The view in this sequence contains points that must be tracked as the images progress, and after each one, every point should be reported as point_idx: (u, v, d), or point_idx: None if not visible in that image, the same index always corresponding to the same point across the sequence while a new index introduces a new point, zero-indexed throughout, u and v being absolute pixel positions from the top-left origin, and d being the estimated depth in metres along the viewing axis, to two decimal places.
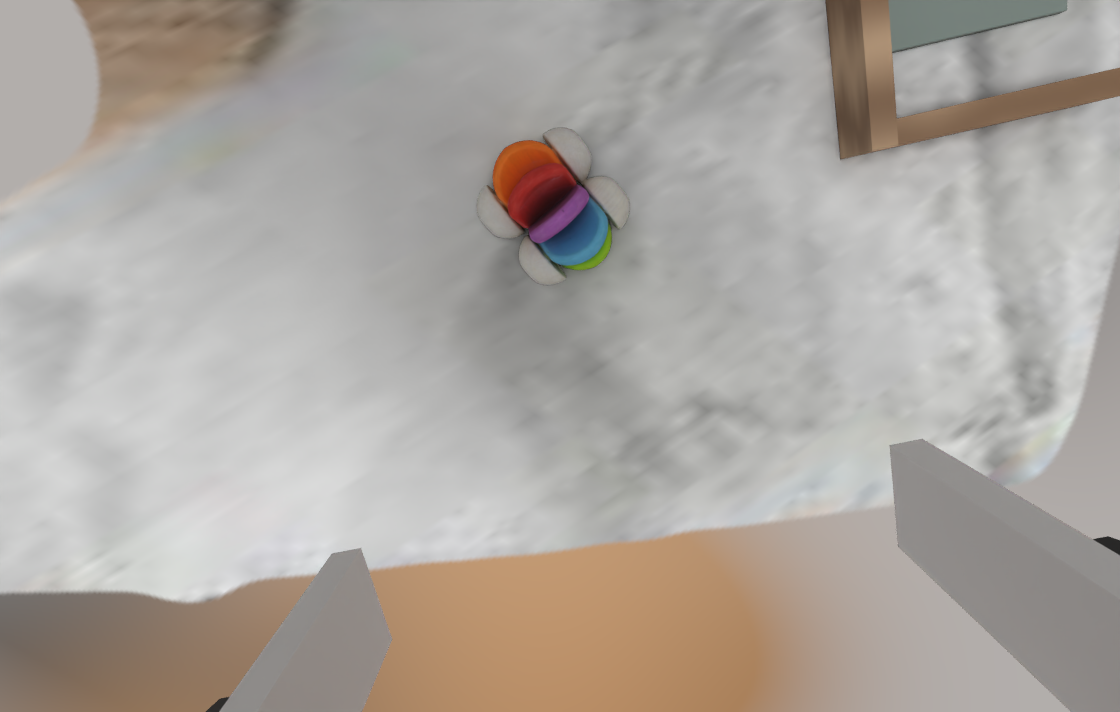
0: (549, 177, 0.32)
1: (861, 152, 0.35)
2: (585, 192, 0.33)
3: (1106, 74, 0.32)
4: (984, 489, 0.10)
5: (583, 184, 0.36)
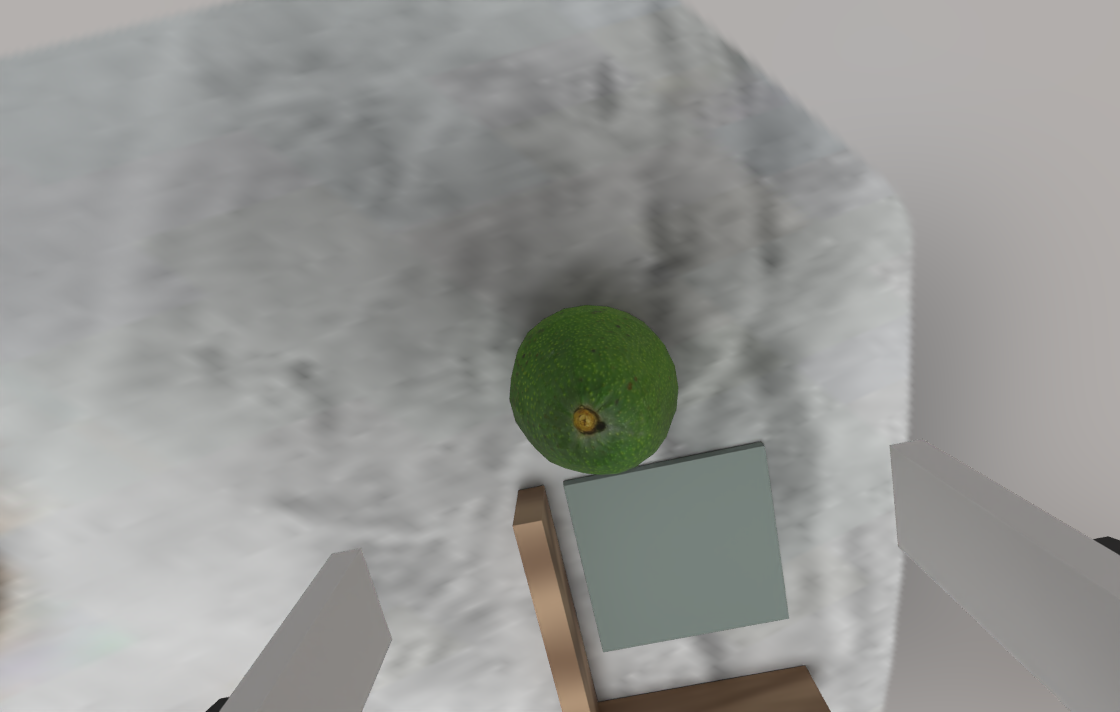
0: None
1: None
2: None
3: None
4: (984, 489, 0.10)
5: None
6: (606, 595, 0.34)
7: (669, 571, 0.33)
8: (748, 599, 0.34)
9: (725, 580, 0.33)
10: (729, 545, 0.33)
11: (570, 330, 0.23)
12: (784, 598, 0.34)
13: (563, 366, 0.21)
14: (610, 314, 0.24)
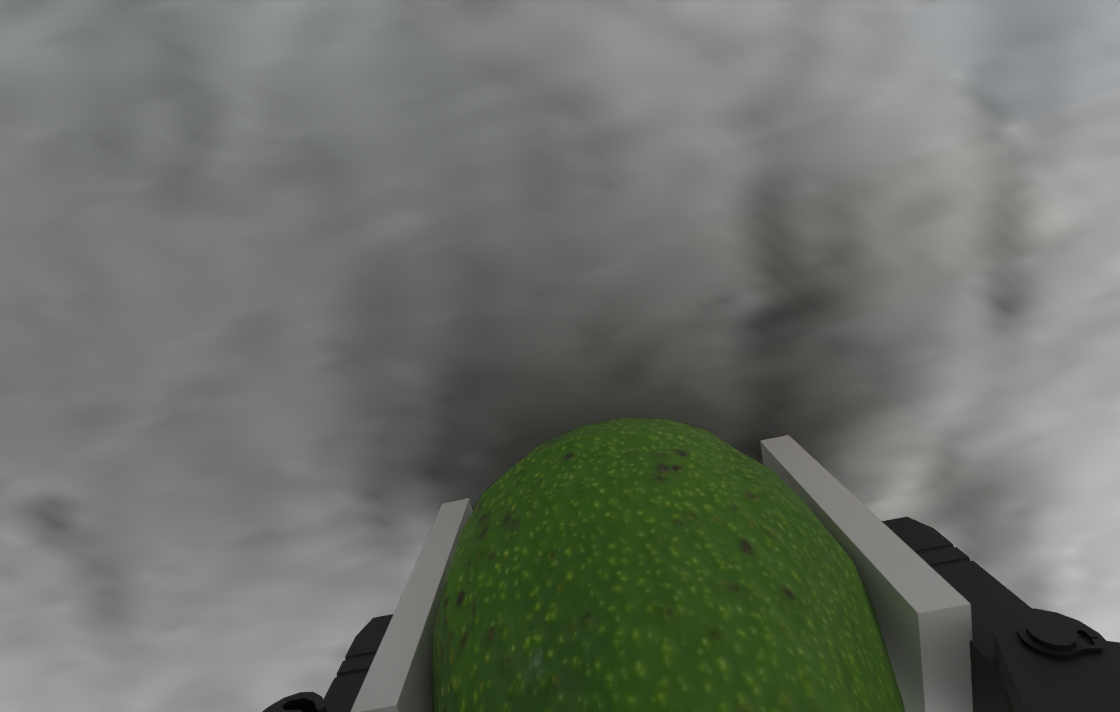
0: None
1: None
2: None
3: None
4: (816, 477, 0.12)
5: None
6: None
7: None
8: None
9: None
10: None
11: (594, 564, 0.07)
12: None
13: None
14: (707, 482, 0.08)
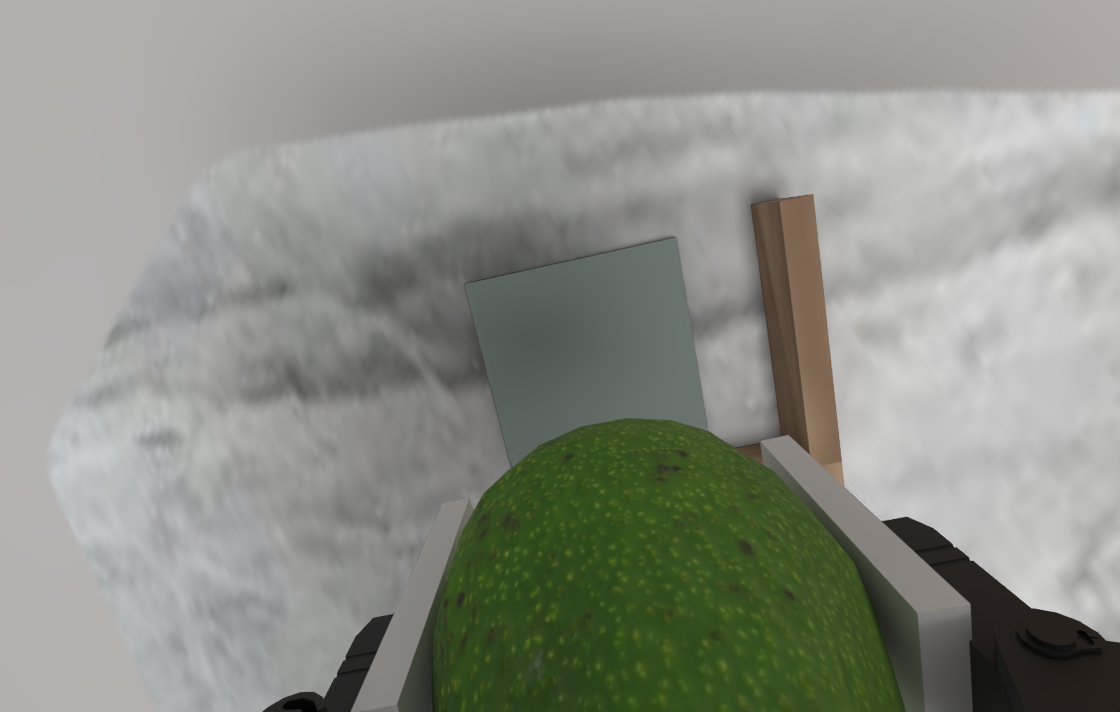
0: None
1: None
2: None
3: (787, 232, 0.26)
4: (816, 477, 0.12)
5: None
6: None
7: (610, 373, 0.31)
8: (648, 286, 0.30)
9: (623, 313, 0.30)
10: (580, 312, 0.30)
11: (594, 564, 0.07)
12: (649, 245, 0.29)
13: None
14: (707, 483, 0.08)
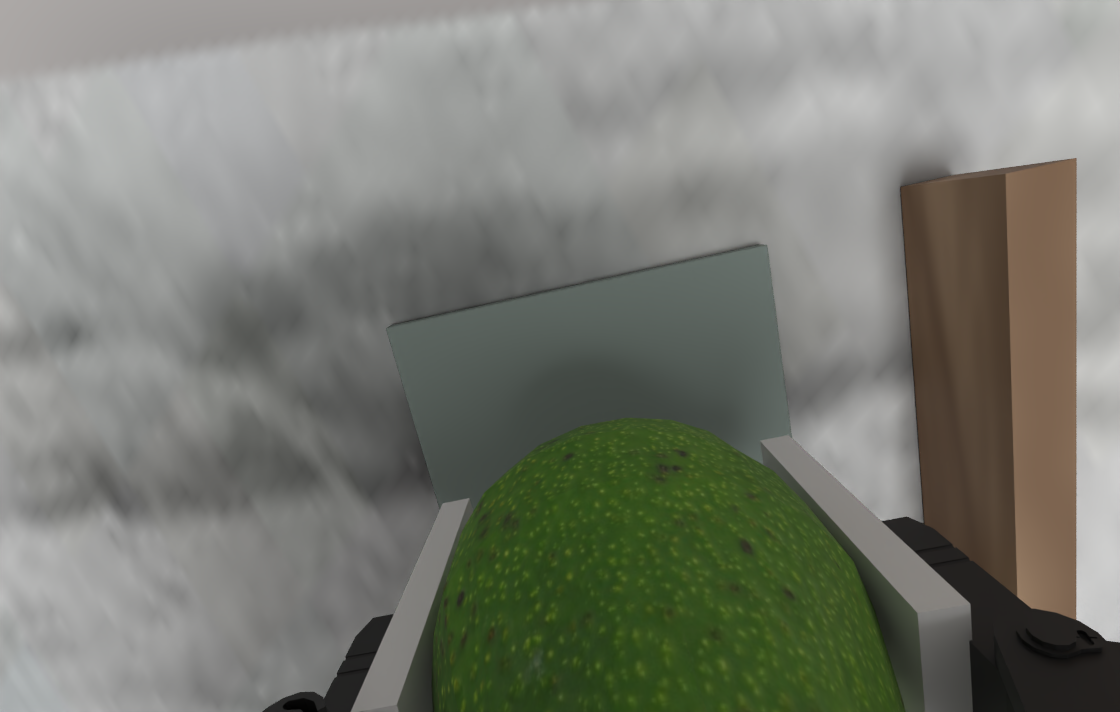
0: None
1: None
2: None
3: (1016, 236, 0.13)
4: (816, 477, 0.12)
5: None
6: None
7: None
8: (714, 332, 0.17)
9: (668, 378, 0.17)
10: (593, 376, 0.17)
11: (594, 564, 0.07)
12: (717, 259, 0.16)
13: None
14: (707, 482, 0.08)
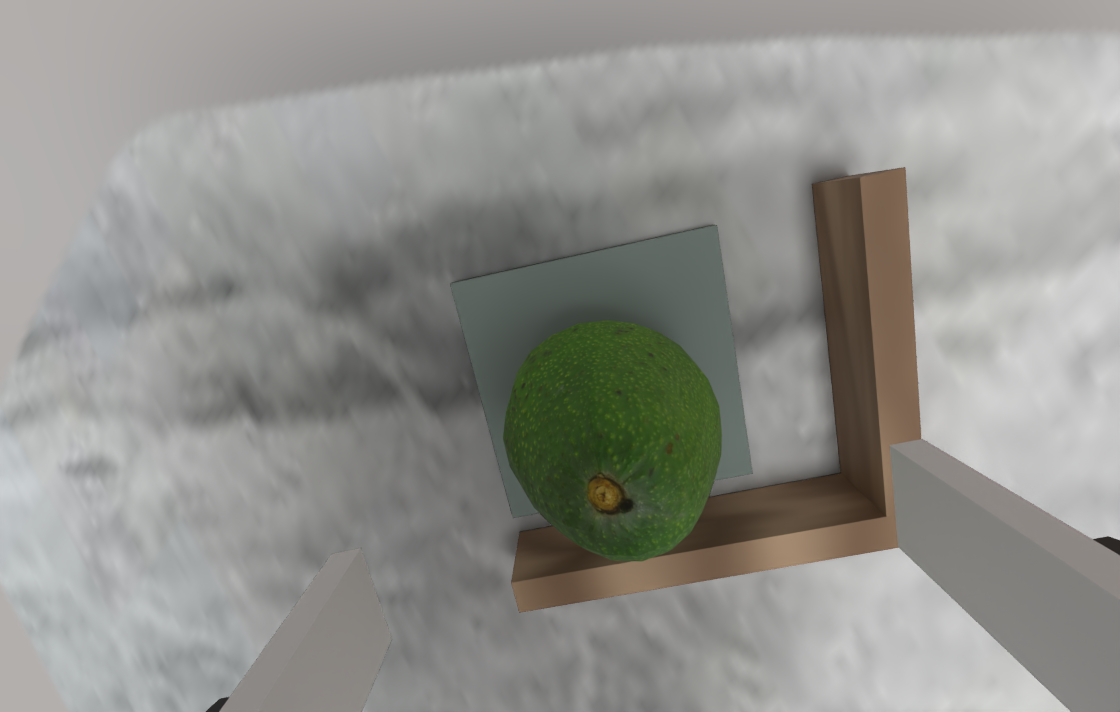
0: None
1: None
2: None
3: (869, 218, 0.20)
4: (984, 489, 0.10)
5: None
6: None
7: None
8: (681, 287, 0.24)
9: (648, 320, 0.24)
10: (595, 319, 0.24)
11: (586, 357, 0.17)
12: (682, 235, 0.23)
13: (575, 412, 0.15)
14: (639, 336, 0.18)
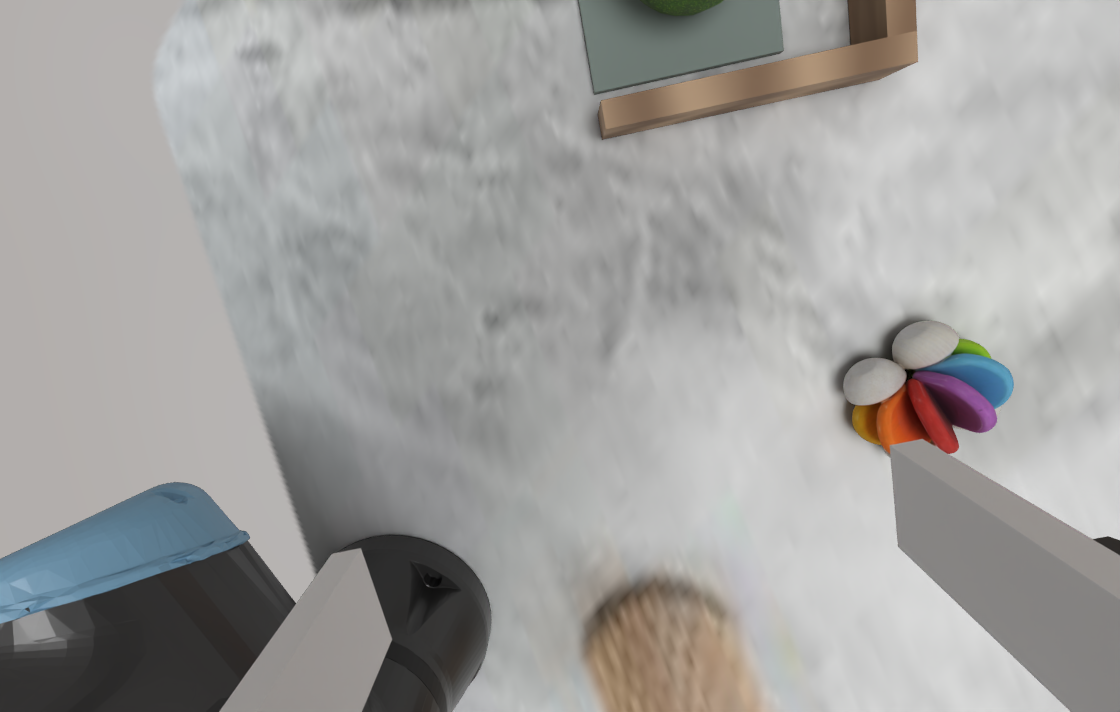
0: (938, 418, 0.33)
1: (902, 68, 0.32)
2: (951, 382, 0.33)
3: None
4: (984, 489, 0.10)
5: (908, 369, 0.36)
6: (716, 47, 0.34)
7: None
8: None
9: None
10: None
11: None
12: None
13: None
14: None
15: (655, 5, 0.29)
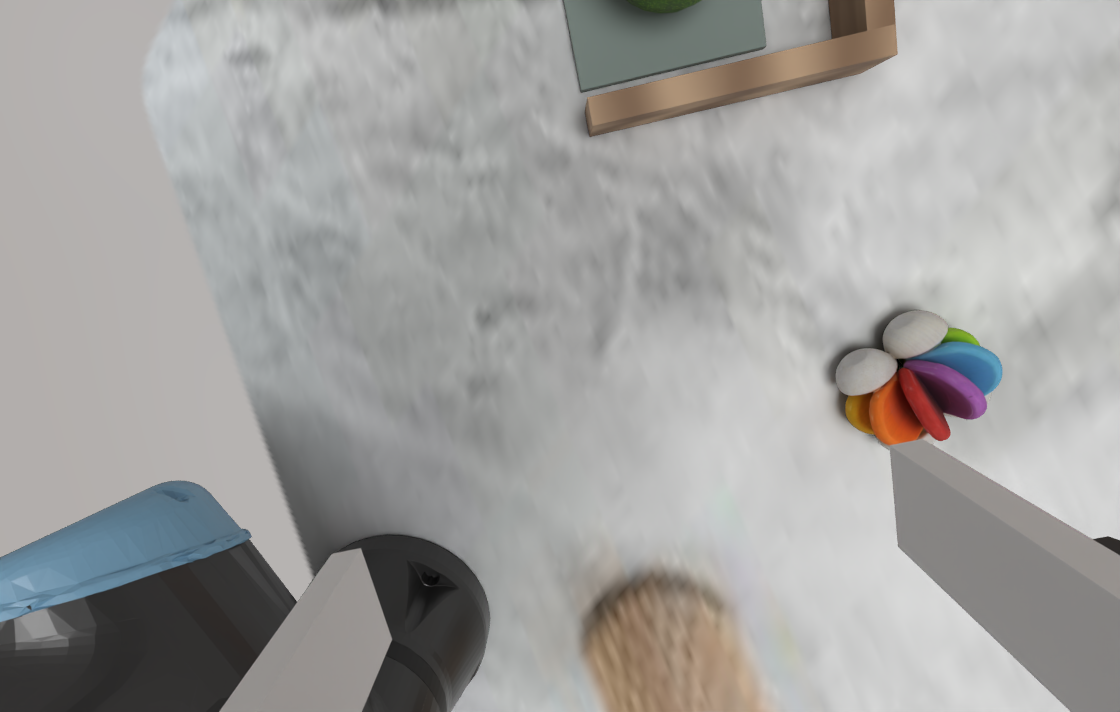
0: (929, 406, 0.34)
1: (882, 61, 0.32)
2: (941, 369, 0.34)
3: None
4: (984, 489, 0.10)
5: (899, 358, 0.37)
6: (699, 43, 0.34)
7: None
8: None
9: None
10: None
11: None
12: None
13: None
14: None
15: (638, 3, 0.30)
